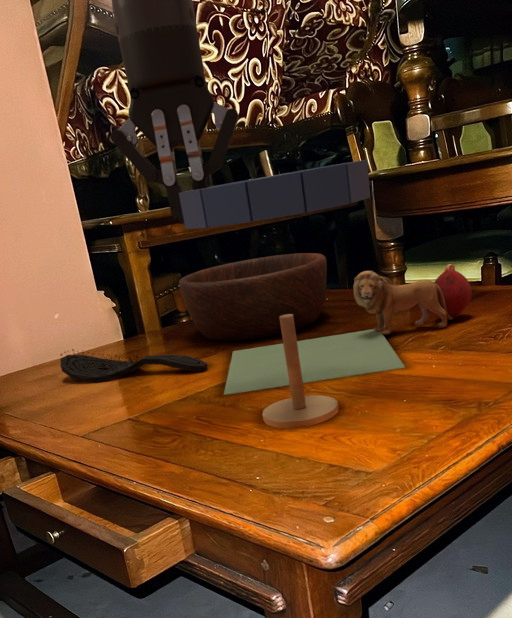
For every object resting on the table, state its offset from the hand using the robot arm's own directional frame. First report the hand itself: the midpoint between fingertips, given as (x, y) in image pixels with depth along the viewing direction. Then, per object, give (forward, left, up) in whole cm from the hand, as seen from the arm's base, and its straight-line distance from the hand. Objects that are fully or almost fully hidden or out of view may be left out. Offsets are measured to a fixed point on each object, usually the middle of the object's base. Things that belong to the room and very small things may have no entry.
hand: (192, 221), depth 72 cm
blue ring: (-9, 0, -1) cm, 9 cm away
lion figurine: (-24, -24, -21) cm, 40 cm away
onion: (-32, -28, -21) cm, 47 cm away
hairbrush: (+16, -25, -21) cm, 36 cm away
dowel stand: (-8, +6, -21) cm, 23 cm away
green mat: (-10, -16, -21) cm, 28 cm away
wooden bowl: (-3, -44, -21) cm, 49 cm away
